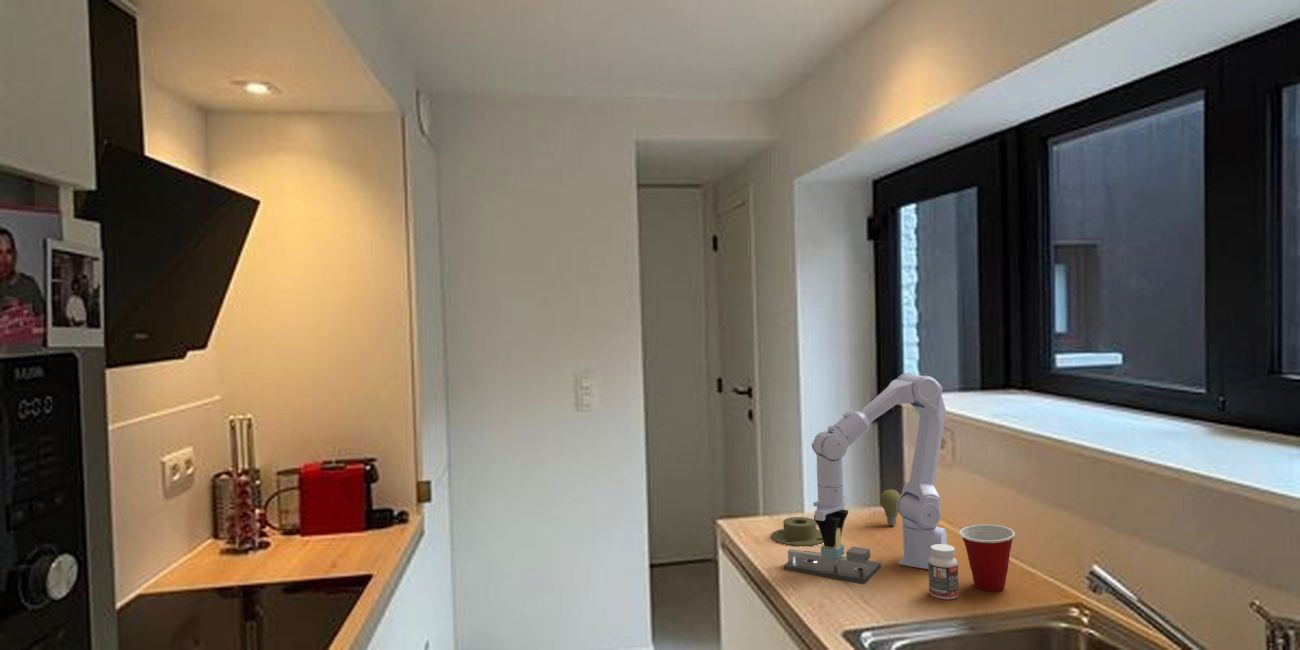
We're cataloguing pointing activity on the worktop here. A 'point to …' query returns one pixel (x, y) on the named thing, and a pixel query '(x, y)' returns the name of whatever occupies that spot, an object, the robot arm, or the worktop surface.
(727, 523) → the worktop surface
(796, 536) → the flange
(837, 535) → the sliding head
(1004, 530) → the plastic cup
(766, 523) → the worktop surface
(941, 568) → the pill bottle
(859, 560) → the rail
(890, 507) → the light bulb
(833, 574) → the hole plate
